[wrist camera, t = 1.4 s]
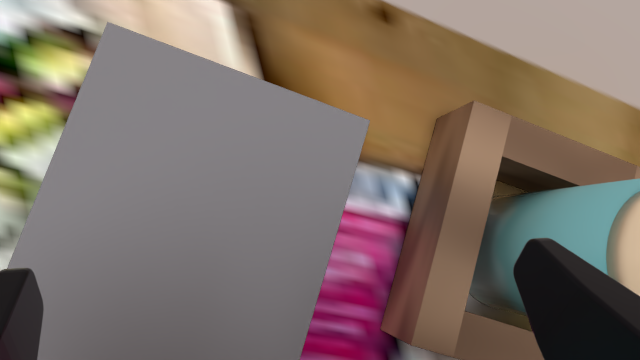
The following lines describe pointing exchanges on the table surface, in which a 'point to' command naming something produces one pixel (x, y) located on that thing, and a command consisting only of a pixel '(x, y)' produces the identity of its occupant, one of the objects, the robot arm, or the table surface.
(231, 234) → the gray rectangular panel
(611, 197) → the teal jar
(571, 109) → the table surface
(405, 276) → the walnut frame
